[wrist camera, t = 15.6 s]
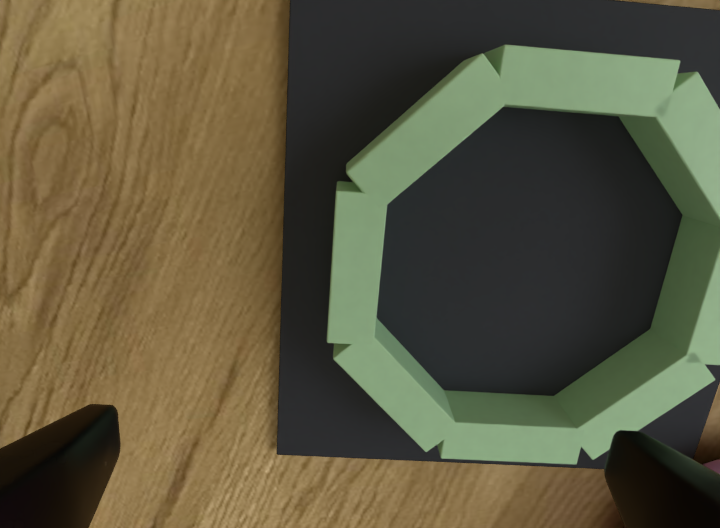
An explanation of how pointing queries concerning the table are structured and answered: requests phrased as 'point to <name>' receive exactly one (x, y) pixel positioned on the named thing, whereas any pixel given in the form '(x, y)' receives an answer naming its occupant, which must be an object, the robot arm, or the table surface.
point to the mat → (476, 214)
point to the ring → (621, 370)
